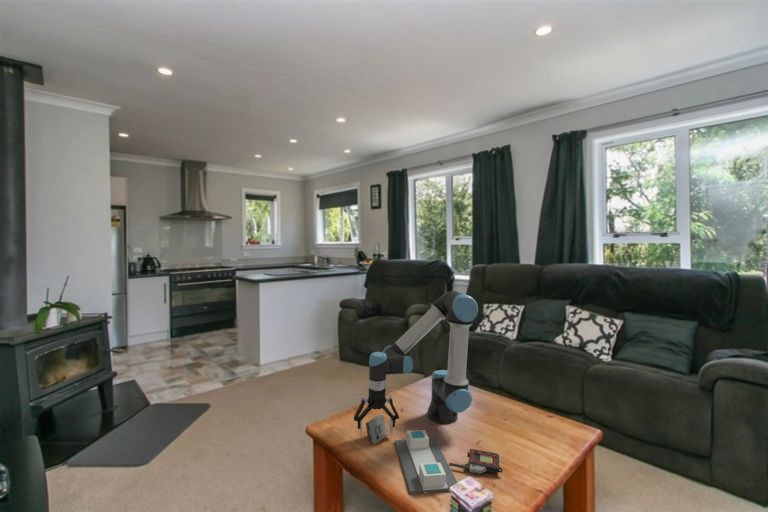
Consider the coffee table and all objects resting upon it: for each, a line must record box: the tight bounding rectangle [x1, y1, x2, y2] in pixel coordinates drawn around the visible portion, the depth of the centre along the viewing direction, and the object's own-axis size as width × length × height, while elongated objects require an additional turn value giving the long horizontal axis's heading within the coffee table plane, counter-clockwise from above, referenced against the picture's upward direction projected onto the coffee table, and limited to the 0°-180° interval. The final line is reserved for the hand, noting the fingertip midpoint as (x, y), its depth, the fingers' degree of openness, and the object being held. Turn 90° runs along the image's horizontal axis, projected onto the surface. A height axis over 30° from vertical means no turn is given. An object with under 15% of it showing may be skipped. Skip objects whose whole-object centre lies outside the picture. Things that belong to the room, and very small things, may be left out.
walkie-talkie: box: [448, 448, 503, 475], centre depth 139 cm, size 9×4×20 cm
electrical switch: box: [365, 414, 388, 445], centre depth 158 cm, size 9×5×9 cm, turn 141°
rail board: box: [394, 429, 458, 494], centre depth 140 cm, size 18×32×6 cm, turn 8°
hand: (376, 434), depth 158 cm, fingers open, 13 cm apart
